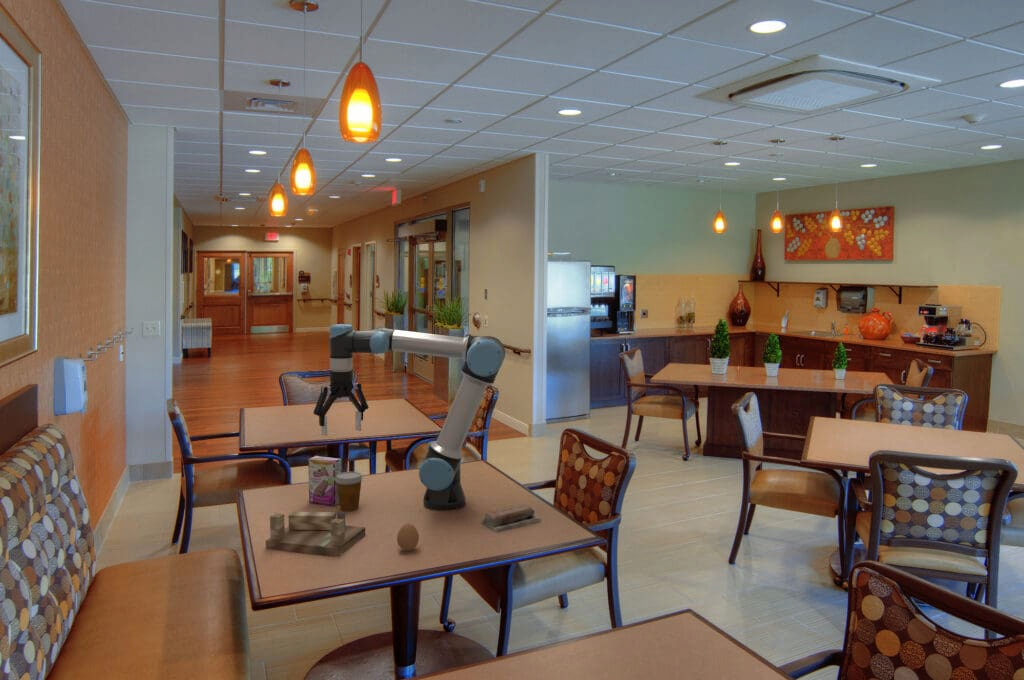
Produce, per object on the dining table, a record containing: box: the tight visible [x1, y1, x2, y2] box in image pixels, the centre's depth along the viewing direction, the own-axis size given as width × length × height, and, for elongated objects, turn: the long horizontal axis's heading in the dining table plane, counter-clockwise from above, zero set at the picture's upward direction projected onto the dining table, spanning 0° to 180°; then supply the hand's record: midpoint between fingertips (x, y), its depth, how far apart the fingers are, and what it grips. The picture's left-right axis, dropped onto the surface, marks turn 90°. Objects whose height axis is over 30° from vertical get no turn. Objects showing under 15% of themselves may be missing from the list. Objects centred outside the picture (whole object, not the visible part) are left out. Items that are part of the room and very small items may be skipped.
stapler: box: [480, 505, 542, 533], centre depth 238 cm, size 18×5×10 cm
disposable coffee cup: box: [335, 471, 364, 512], centre depth 251 cm, size 10×10×12 cm
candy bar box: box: [307, 455, 343, 507], centre depth 256 cm, size 11×5×16 cm, turn 71°
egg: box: [396, 523, 420, 552], centre depth 213 cm, size 6×6×8 cm
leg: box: [288, 511, 337, 530], centre depth 224 cm, size 14×4×4 cm, turn 87°
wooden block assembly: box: [265, 511, 366, 557], centre depth 220 cm, size 24×18×10 cm
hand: (341, 432), depth 242 cm, fingers open, 12 cm apart
